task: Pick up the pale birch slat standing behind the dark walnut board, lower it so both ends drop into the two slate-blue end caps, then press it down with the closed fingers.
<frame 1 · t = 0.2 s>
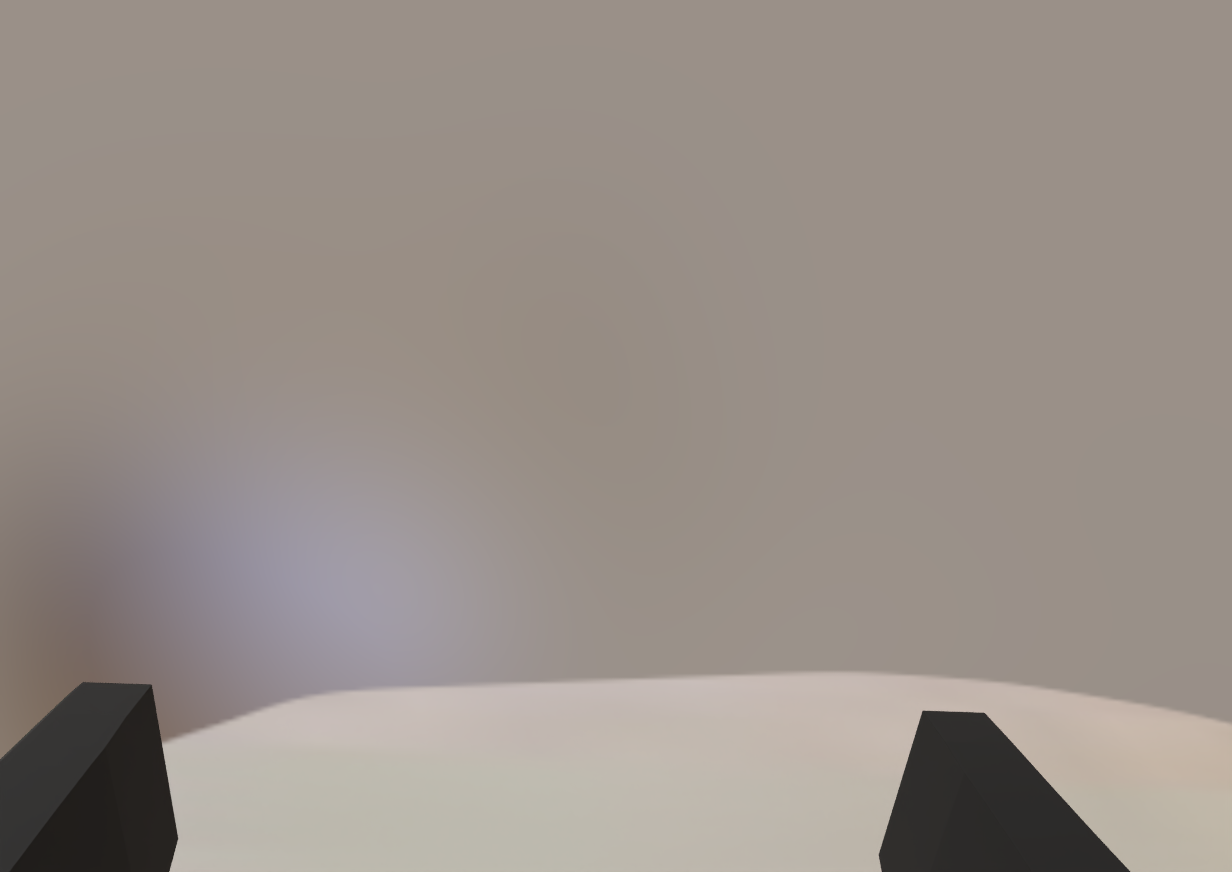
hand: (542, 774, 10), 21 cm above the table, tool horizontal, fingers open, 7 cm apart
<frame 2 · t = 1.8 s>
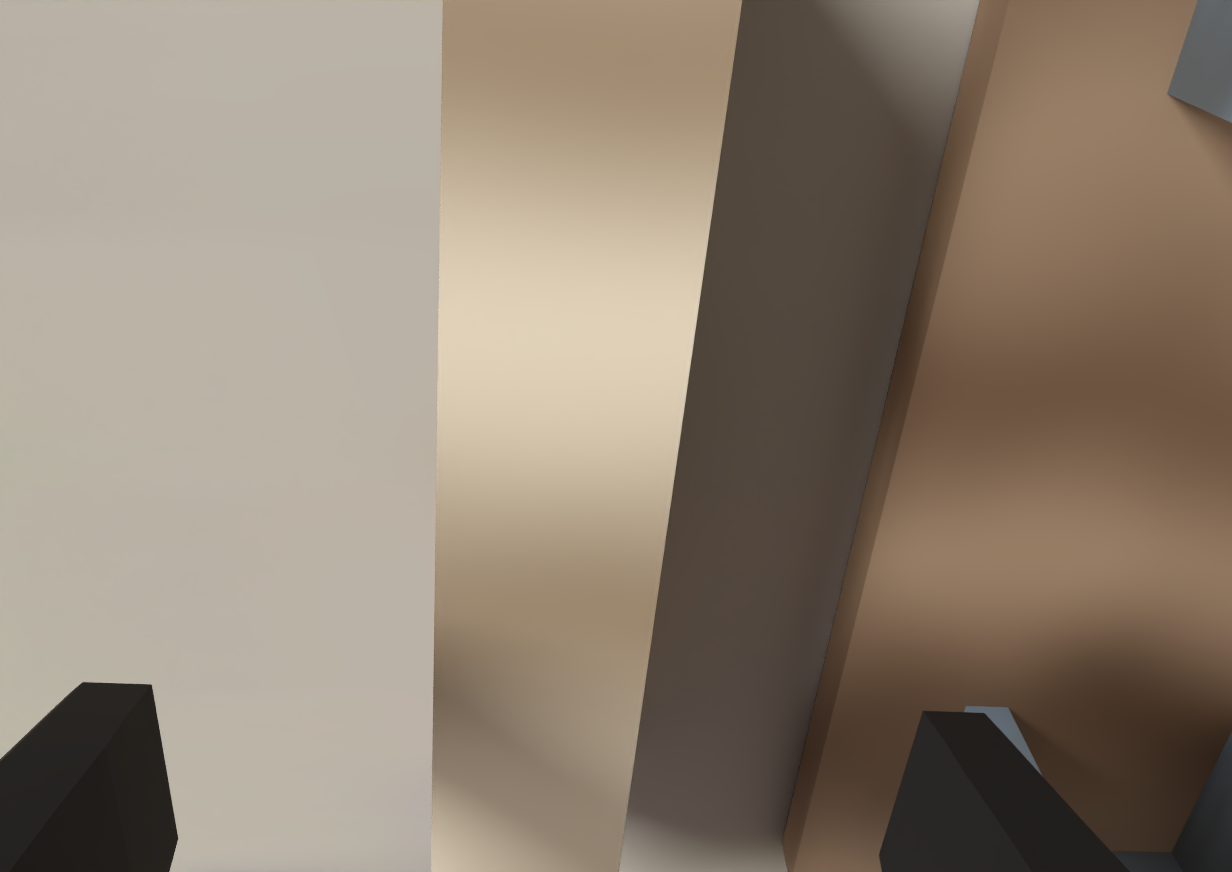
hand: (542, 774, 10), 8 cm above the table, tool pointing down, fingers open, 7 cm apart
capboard: (1201, 427, 18), on the table
slat: (550, 385, 18), on the table
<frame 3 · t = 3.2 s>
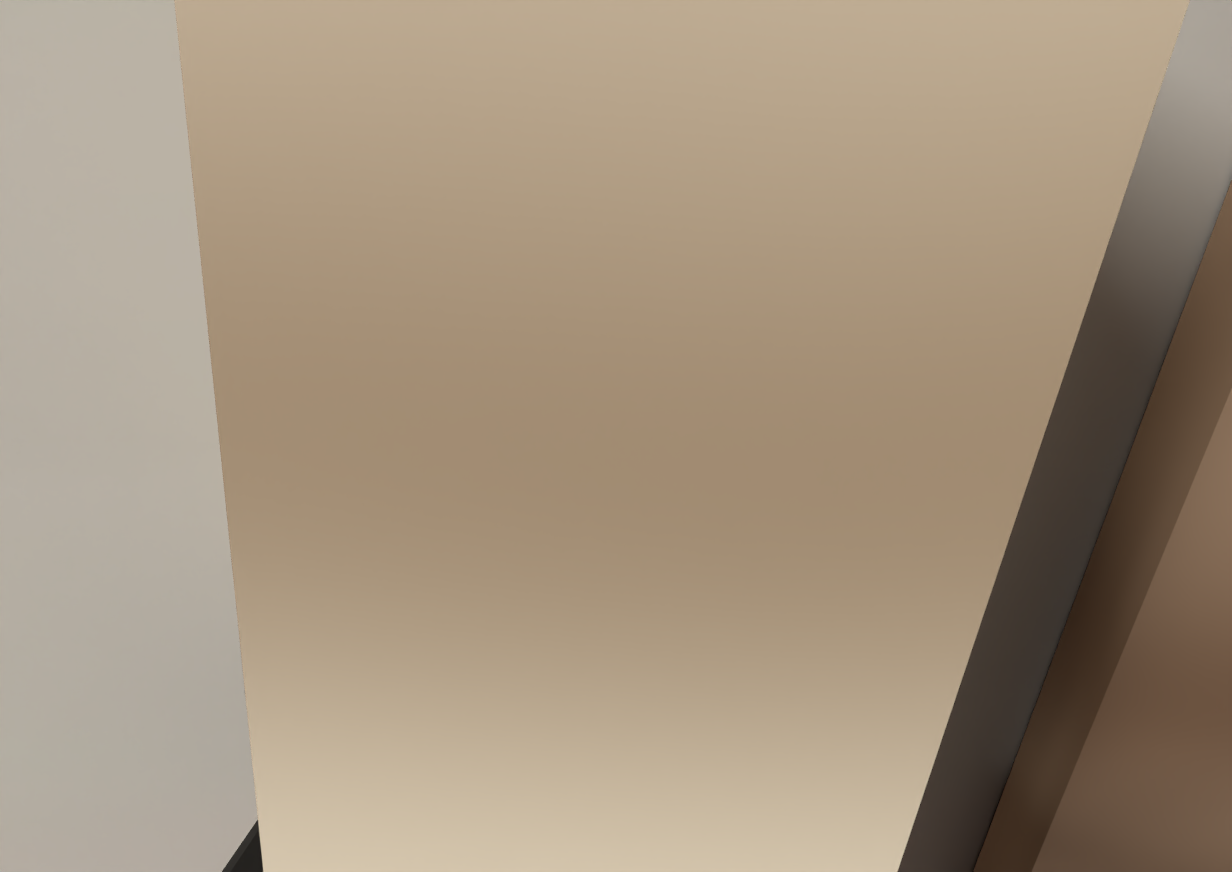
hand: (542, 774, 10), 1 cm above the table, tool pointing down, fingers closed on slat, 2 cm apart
slat: (544, 667, 12), on the table, touching gripper
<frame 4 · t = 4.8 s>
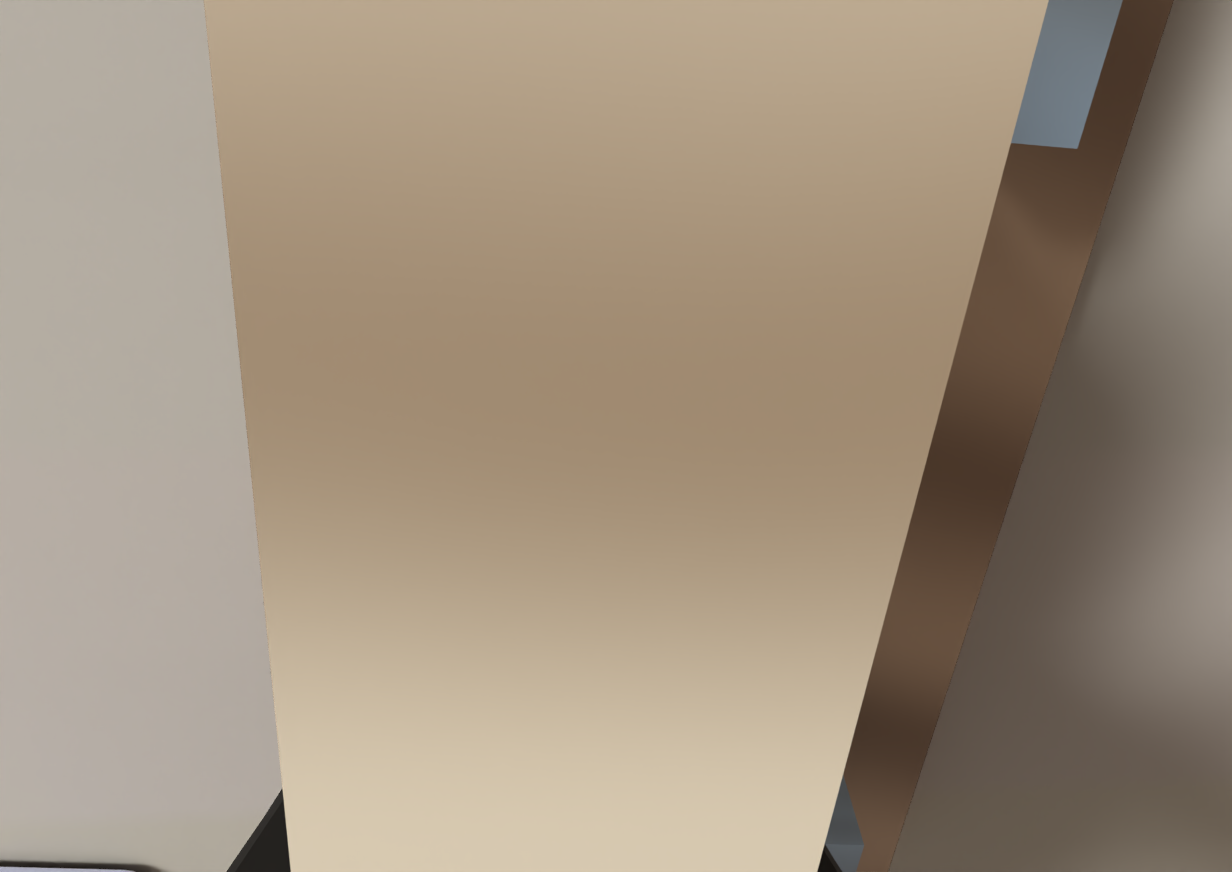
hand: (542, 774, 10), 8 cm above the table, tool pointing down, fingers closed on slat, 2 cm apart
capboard: (688, 391, 18), on the table
slat: (543, 634, 12), point 6 cm above the table, touching gripper
when the fingers open (3 cm above the table, at t = 6.4 s): slat stays where it is, resting on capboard.
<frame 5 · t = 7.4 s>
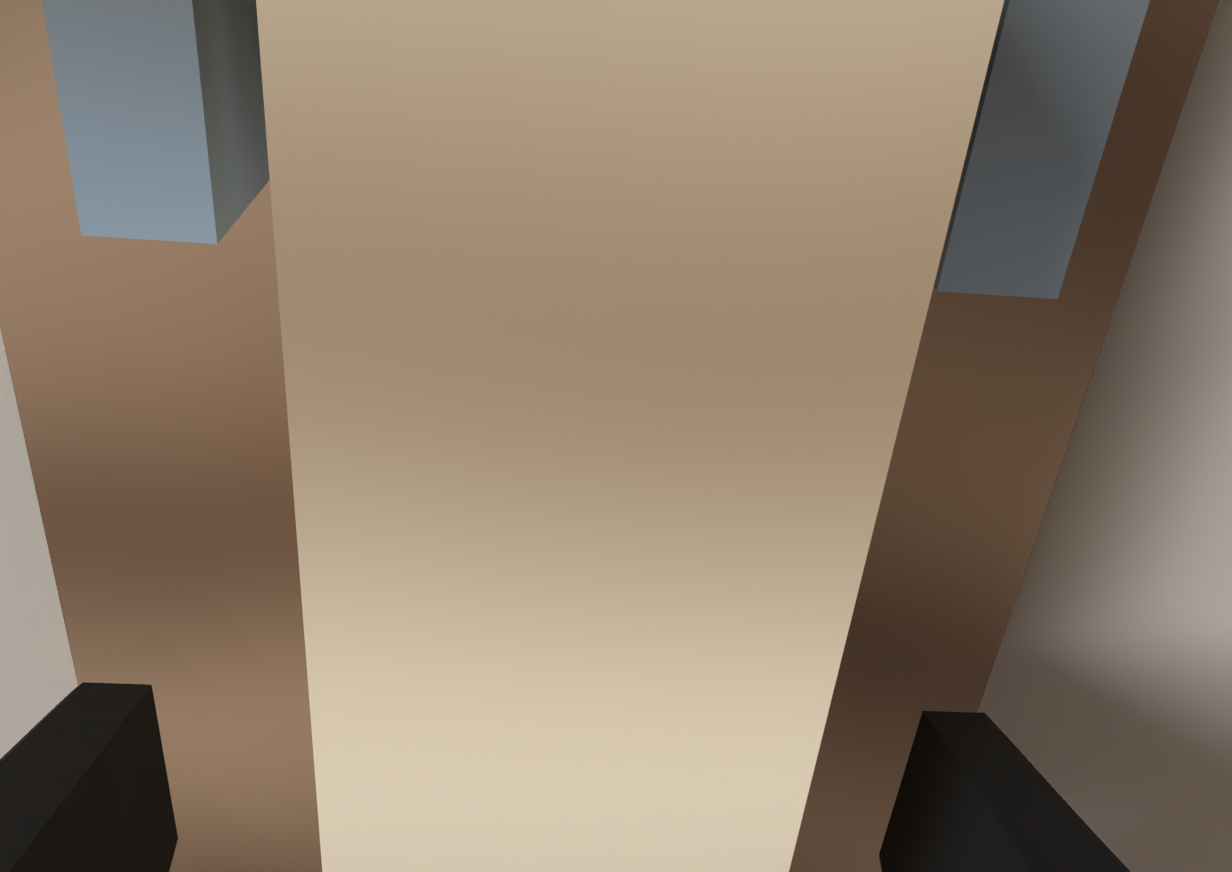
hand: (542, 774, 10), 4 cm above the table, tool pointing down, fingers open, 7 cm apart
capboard: (548, 554, 13), on the table
slat: (546, 609, 12), point 1 cm above the table, touching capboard
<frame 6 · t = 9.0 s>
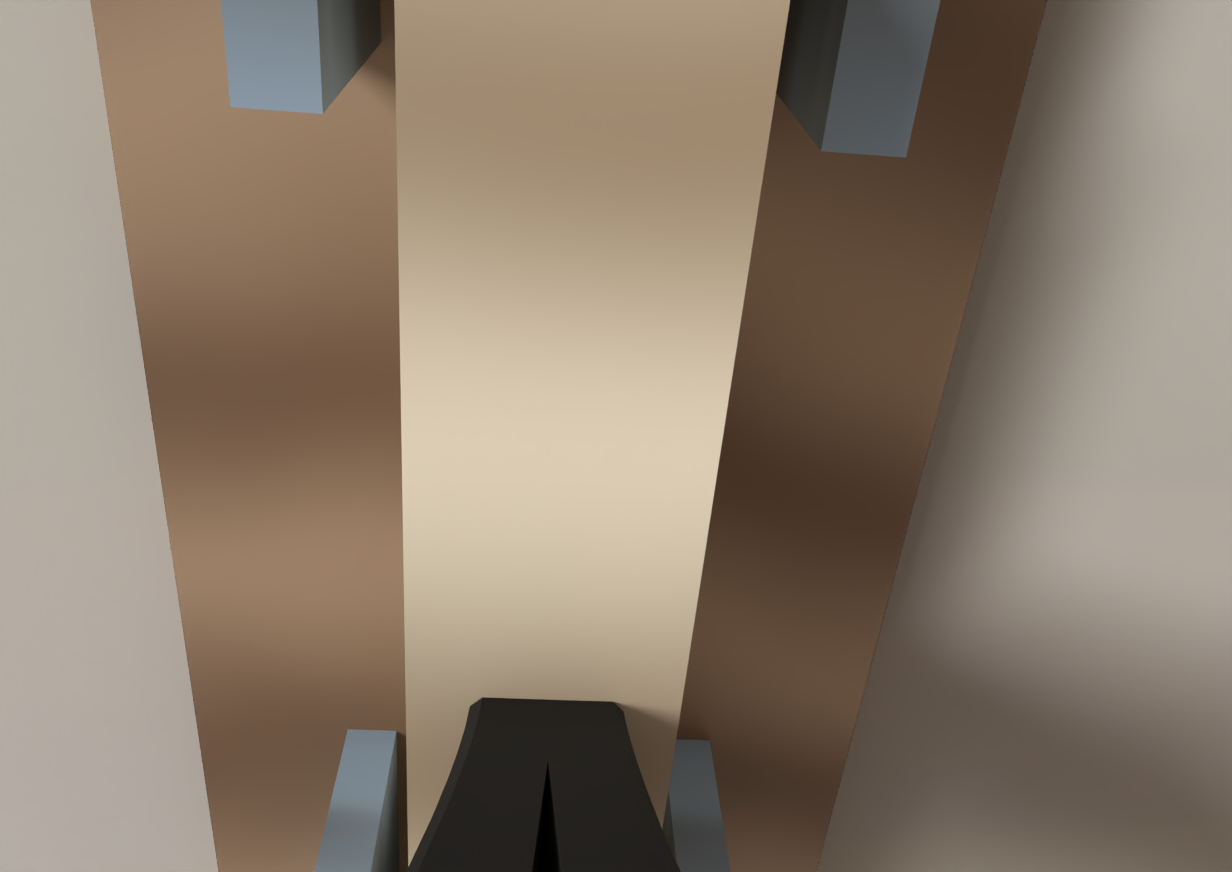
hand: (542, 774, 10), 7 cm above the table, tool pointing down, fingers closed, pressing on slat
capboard: (549, 422, 16), on the table
slat: (547, 459, 15), point 1 cm above the table, touching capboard, gripper
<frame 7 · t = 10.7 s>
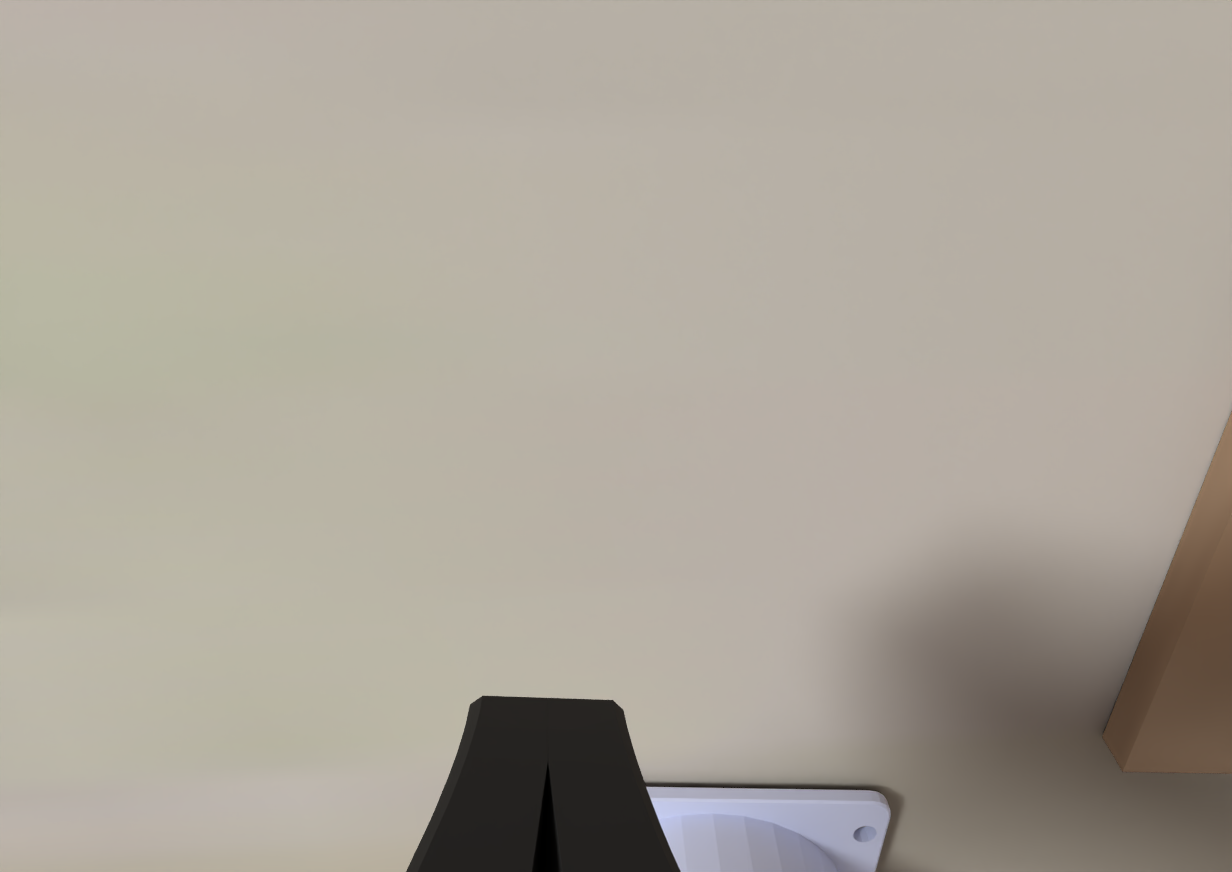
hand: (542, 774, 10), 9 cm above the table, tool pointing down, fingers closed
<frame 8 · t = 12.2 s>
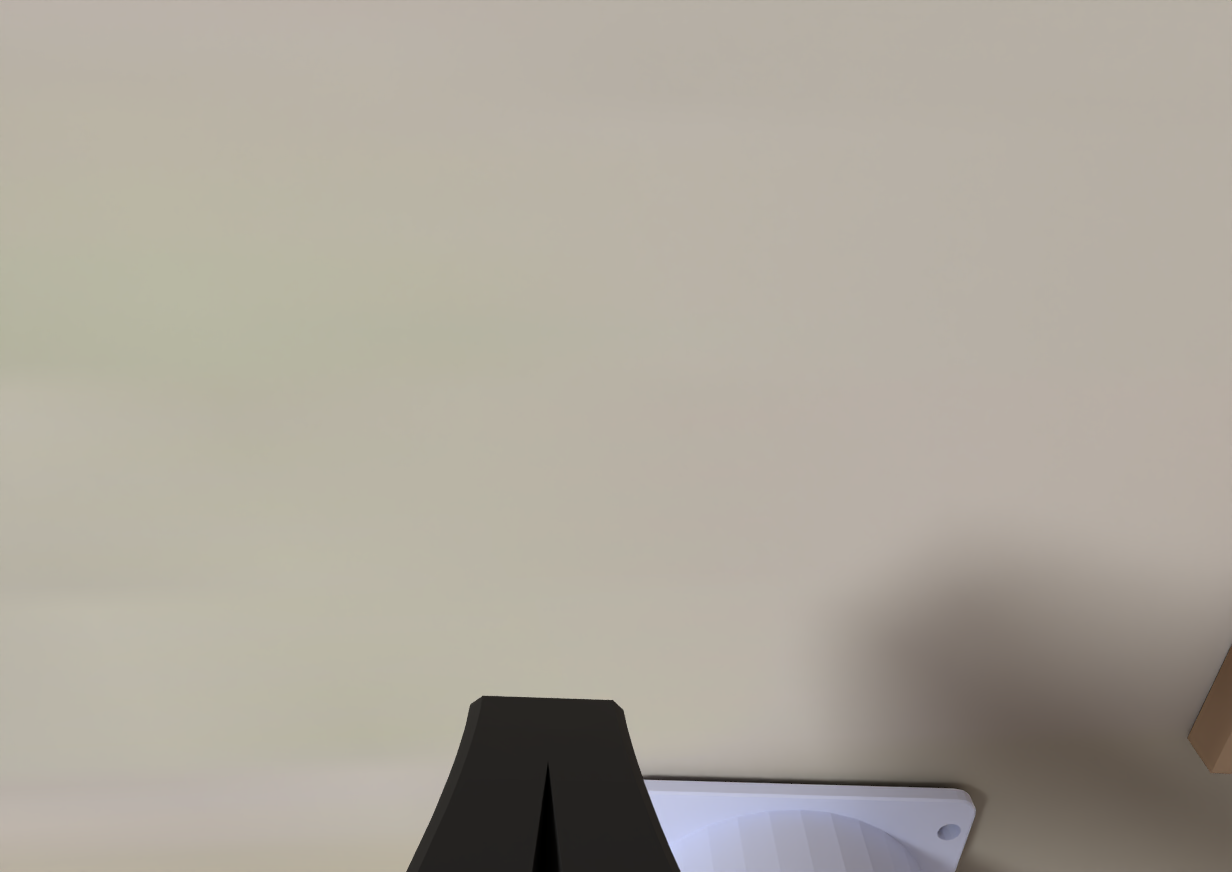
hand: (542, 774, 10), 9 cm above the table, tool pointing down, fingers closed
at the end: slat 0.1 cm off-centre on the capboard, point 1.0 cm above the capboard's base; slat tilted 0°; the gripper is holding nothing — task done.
